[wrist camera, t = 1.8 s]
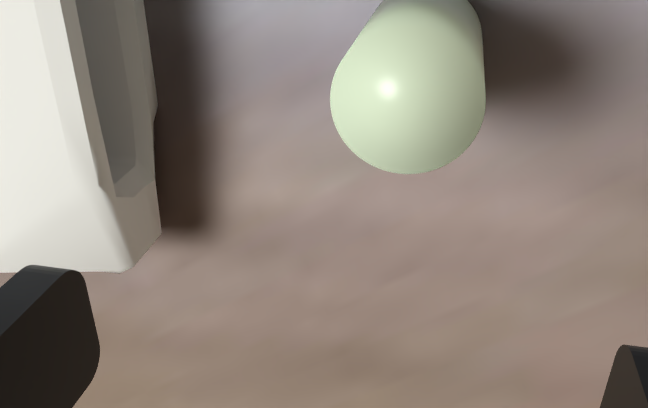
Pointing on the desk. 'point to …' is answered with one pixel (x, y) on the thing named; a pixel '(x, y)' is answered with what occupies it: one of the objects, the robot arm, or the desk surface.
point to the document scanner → (76, 135)
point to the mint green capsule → (412, 85)
